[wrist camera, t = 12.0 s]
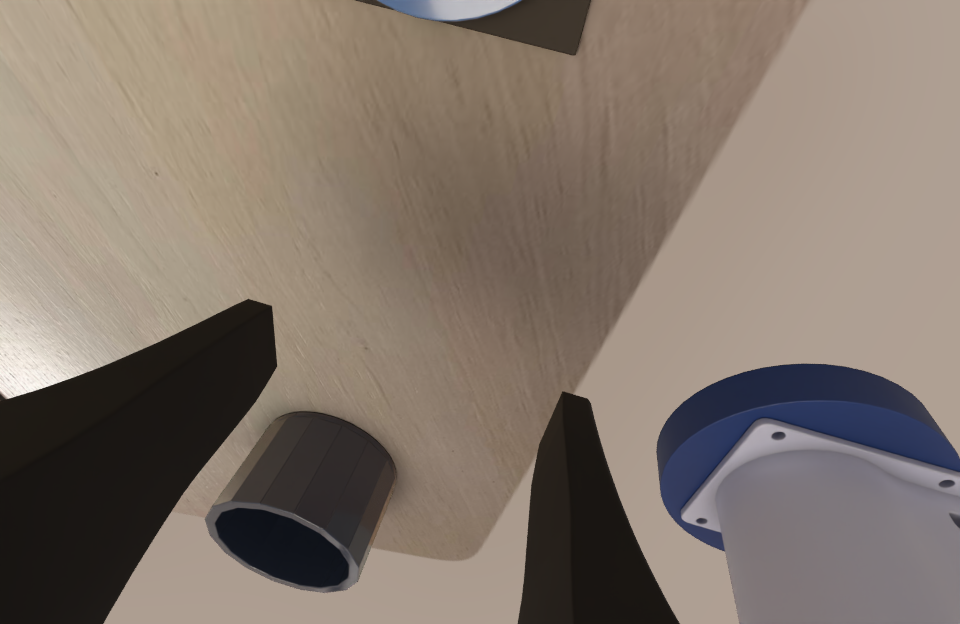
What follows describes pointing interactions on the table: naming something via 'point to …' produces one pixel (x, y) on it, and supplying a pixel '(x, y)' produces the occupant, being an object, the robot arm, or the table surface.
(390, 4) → the lid
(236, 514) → the pot
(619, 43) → the table surface
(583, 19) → the mat
